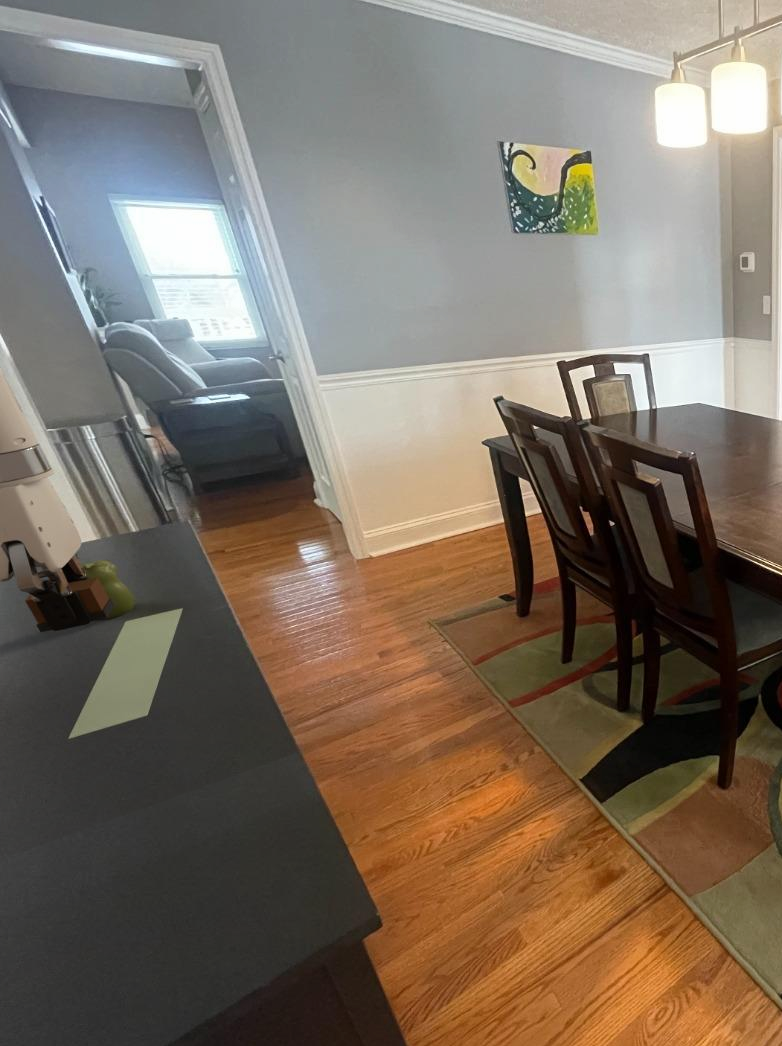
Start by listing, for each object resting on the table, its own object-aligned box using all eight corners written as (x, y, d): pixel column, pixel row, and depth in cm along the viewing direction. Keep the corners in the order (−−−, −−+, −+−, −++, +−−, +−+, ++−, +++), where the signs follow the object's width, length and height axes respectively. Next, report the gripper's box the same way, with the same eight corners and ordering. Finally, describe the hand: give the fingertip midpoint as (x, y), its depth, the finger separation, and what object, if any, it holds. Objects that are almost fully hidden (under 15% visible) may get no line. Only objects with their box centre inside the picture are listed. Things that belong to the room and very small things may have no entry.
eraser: (40, 632, 67) (22, 601, 65) (51, 619, 70) (33, 589, 68) (107, 618, 70) (91, 588, 68) (115, 605, 73) (100, 576, 71)
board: (71, 745, 69) (67, 738, 68) (128, 626, 92) (125, 621, 92) (150, 721, 72) (147, 715, 72) (185, 613, 96) (182, 607, 96)
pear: (86, 629, 92) (54, 572, 88) (101, 614, 96) (70, 558, 92) (134, 620, 94) (104, 563, 90) (146, 605, 98) (118, 551, 94)
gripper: (-25, 456, 67) (56, 599, 74) (-102, 496, 54) (4, 663, 62) (69, 445, 70) (137, 582, 78) (18, 481, 58) (104, 640, 65)
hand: (77, 616), depth 70 cm, fingers closed on eraser, 3 cm apart
